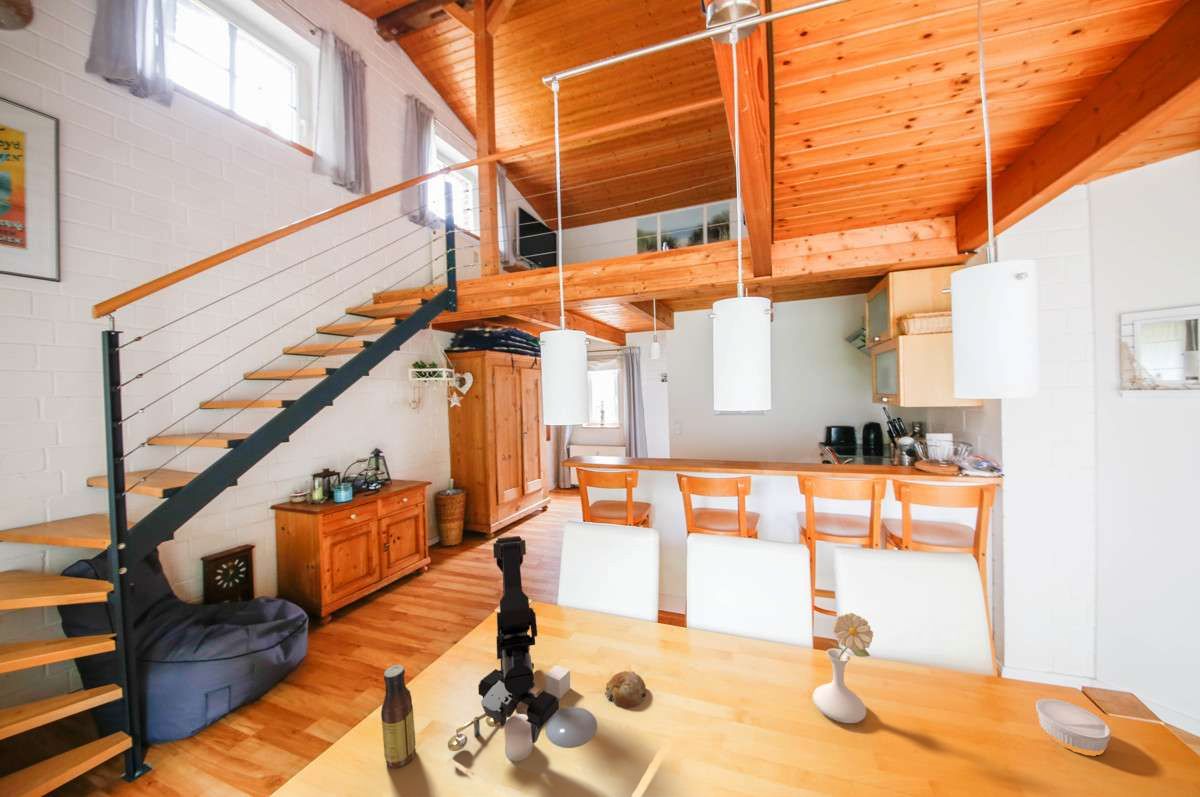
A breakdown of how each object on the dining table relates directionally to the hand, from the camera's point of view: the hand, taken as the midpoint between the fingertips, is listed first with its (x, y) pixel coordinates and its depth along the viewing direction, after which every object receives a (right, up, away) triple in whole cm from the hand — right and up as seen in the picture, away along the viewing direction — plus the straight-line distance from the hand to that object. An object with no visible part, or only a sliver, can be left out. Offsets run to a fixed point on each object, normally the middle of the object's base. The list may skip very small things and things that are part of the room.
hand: (518, 733), depth 95 cm
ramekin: (+121, -2, +1) cm, 121 cm away
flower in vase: (+76, -3, +10) cm, 77 cm away
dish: (+11, -4, +6) cm, 13 cm away
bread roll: (+24, -4, +17) cm, 30 cm away
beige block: (+7, -4, +18) cm, 20 cm away
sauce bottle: (-26, -6, 0) cm, 27 cm away
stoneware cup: (0, -5, 0) cm, 5 cm away
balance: (-10, -5, +4) cm, 12 cm away
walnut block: (0, -5, +12) cm, 13 cm away
